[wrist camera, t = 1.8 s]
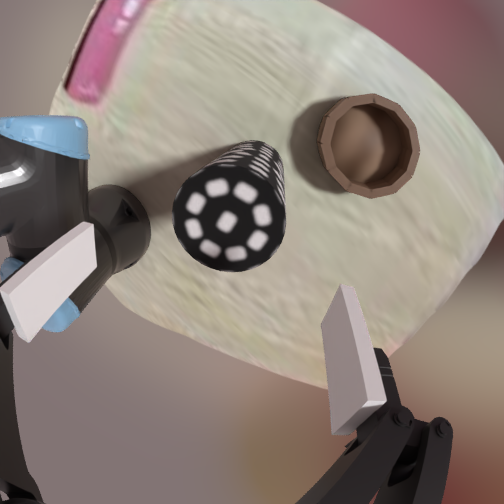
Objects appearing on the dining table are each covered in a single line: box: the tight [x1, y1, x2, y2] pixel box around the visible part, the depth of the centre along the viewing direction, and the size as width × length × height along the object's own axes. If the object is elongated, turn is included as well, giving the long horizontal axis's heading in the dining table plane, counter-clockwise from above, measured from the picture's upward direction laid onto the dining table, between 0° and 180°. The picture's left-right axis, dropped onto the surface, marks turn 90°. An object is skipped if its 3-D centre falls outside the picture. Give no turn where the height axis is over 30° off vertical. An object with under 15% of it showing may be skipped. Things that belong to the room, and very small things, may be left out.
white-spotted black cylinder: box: [172, 140, 286, 272], centre depth 28 cm, size 8×8×20 cm
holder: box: [317, 94, 420, 199], centre depth 31 cm, size 13×13×4 cm
